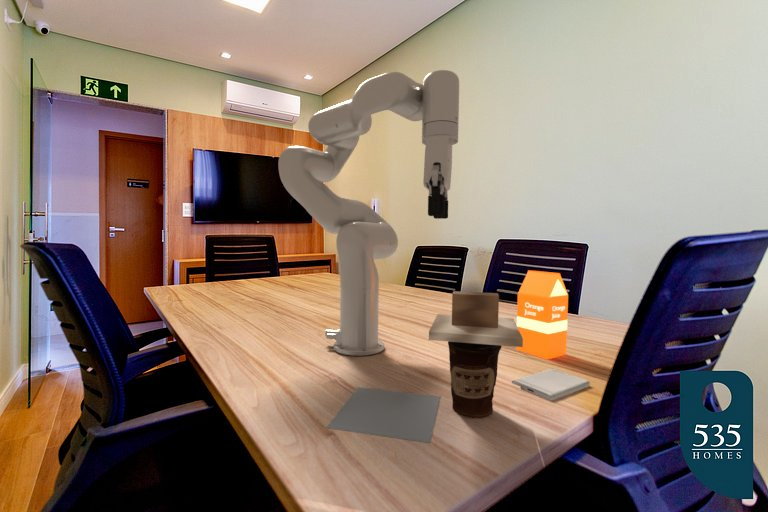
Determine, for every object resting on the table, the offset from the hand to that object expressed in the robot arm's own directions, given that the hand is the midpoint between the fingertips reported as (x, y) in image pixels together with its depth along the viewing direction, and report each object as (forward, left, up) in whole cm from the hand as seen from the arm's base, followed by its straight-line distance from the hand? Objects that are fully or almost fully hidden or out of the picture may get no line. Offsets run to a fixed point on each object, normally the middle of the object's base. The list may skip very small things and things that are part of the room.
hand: (438, 217), depth 78 cm
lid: (+8, -19, -19) cm, 28 cm away
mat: (-5, -23, -32) cm, 40 cm away
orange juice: (+24, +18, -32) cm, 44 cm away
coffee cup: (+8, -19, -32) cm, 38 cm away
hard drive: (+22, -4, -33) cm, 40 cm away
